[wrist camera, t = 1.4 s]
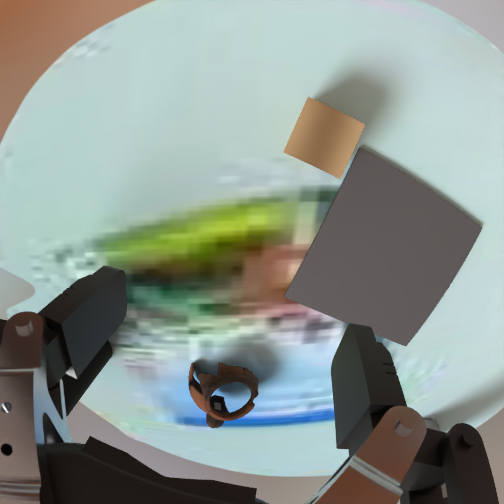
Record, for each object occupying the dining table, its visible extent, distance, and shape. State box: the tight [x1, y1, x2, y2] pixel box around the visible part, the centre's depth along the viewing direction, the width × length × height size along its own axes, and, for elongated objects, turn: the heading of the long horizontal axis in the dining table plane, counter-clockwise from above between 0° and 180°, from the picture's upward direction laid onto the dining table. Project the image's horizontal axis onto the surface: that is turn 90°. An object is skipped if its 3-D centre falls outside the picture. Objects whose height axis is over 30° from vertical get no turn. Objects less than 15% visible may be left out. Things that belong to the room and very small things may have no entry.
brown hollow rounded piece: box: [189, 362, 258, 428], centre depth 38 cm, size 12×10×8 cm
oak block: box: [284, 97, 365, 179], centre depth 24 cm, size 5×5×6 cm
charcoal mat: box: [284, 148, 482, 346], centre depth 30 cm, size 18×18×1 cm
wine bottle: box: [61, 340, 112, 417], centre depth 28 cm, size 8×8×30 cm
